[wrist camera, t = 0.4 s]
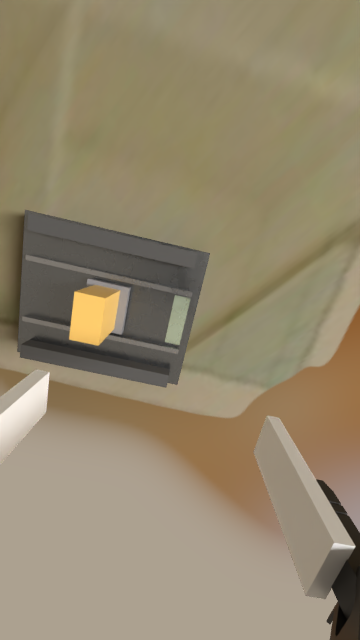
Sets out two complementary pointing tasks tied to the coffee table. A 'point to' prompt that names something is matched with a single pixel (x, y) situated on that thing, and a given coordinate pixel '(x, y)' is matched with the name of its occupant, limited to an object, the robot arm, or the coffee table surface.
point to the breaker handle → (98, 311)
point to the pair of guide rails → (88, 359)
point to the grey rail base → (116, 267)
